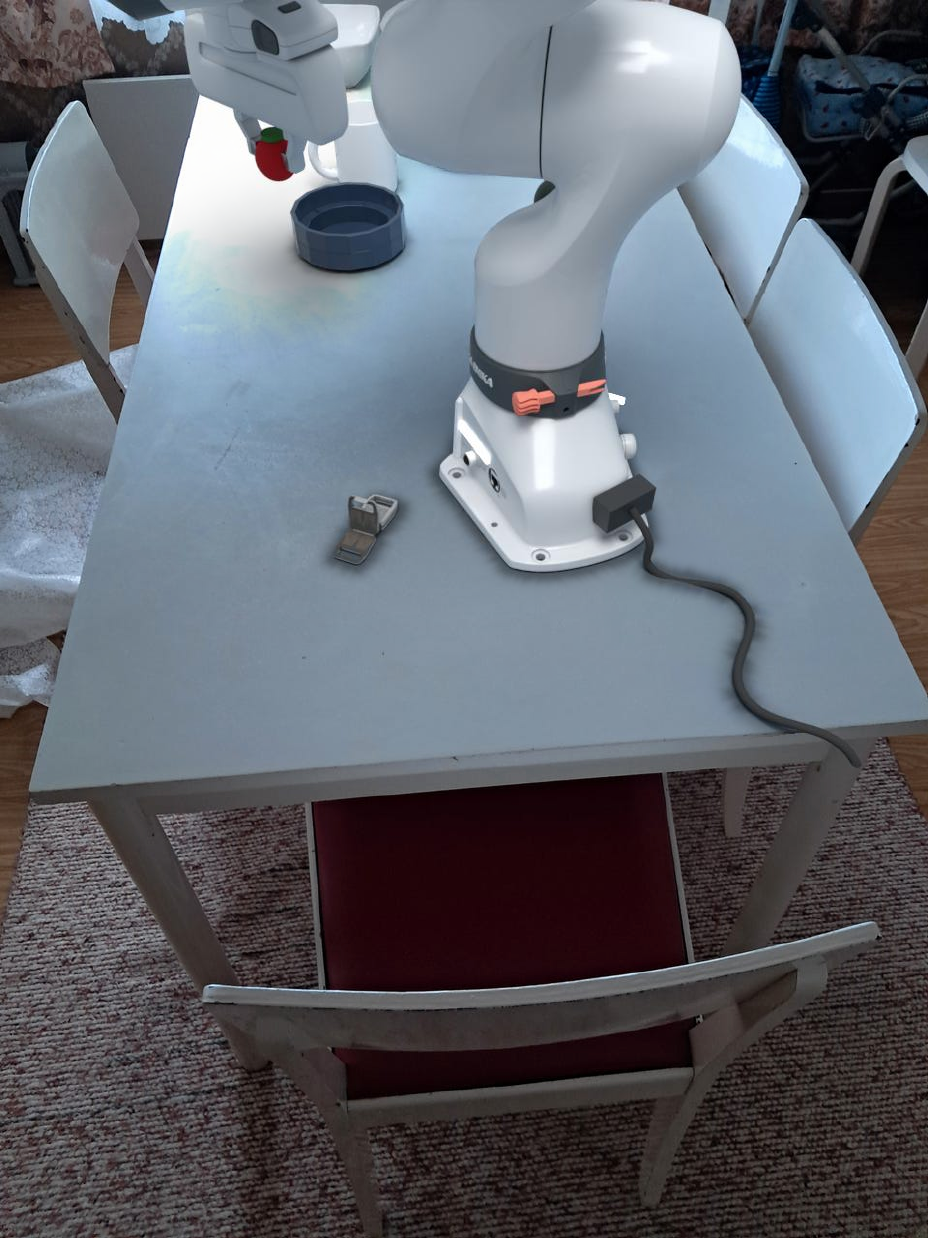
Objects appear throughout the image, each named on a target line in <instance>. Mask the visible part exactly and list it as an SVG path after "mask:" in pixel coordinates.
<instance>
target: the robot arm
mask: <svg viewBox="0 0 928 1238" xmlns="http://www.w3.org/2000/svg"><path fill="white" fill-rule="evenodd" d="M106 1H107V2H109V3H110V4H111V5H112V6H113V7H115V8H117V9H118V10H120V11H121V12H123V13H124V14H126V15H127V16H129V17H130V18H133V19H134V20H136V21H138V22H142V21H145V20H149V19H154V18H158V17H162V16H167V15H171V14H174V13H175V12H178V11H183V12H184V15H185V18H184V21H183V39H184V47H185V52H186V58H187V64H188V69H189V74H190V79H191V82H192V84H193V86H194V88H195V90H196V91H197V93H198V94H199V96H201V97H203V98H206V99H208V100H211V101H213V102H215V103H218V104H220V105H222V106H225V107H227V108H230V109H232V113H233V117H234V120H235V122H236V123H237V125H238V127H239V129H240V131H241V132H242V134H243V136H244V138H245V139H246V145H247V148H248V153H249V154H250V155H251V156H254V157H255V150H256V147H257V144H258V143H259V141H260V140H261V135H260V132H261V130H263V128H262V127H261V124H260V122H262V123H265V124H267V125H269V126H271V127H276V128H279V129H281V130H283V136H284V139H285V140H288V146H287V151H285V152H283V153H281V157H282V161H283V167H284V169H286V170H288V171H290V172H292V173H294V174H295V175H297V174H299V173H301V172H304V170H305V169H306V160H305V154H304V152H305V150H306V147H307V143H309V142H312V143H314V144H316V145H318V147H321V146H322V147H323V146H325V145H328V144H331V143H332V142H334V140H336V139H338V138H340V137H342V136H343V135H344V133H345V131H346V129H347V127H348V122H349V121H348V105H347V102H348V96H347V90H346V89H347V88H345V81H344V75H343V69H342V65H341V61H340V58H339V56H338V54H337V52H336V50H335V49H334V48H333V47H332V46H331V45H330V43H332V42H334V41H336V40H337V39H338V25H337V20H336V18H335V16H334V15H333V14H332V13H331V12H330V11H329V10H328V9H327V8H325V7H324V6H323V5H322V4H323V3H321V2H320V1H318V0H106ZM370 96H371V100H372V102H373V106H374V110H375V114H376V117H377V120H378V123H379V125H380V127H381V129H382V131H383V133H384V135H385V137H386V139H387V140H388V142H389V143H390V145H391V146H392V147H393V149H394V150H395V151H396V154H397V155H399V156H400V157H402V158H406V159H409V160H413V161H414V162H418V163H421V164H423V165H424V164H425V165H428V166H432V167H435V168H439V169H442V170H445V171H449V172H453V173H456V174H465V175H480V176H495V177H508V178H509V177H510V178H522V179H533V180H534V179H538V180H543V181H545V180H546V181H550V182H552V183H553V184H554V185H555V187H556V188H555V189H554V190H553V191H552V192H551V193H550V194H548V195H547V196H546V197H544V198H543V199H541V200H539V201H538V202H536V203H534V202H533V203H531V204H529V205H527V206H524V207H521V208H518V209H517V210H515V211H513V212H511V213H509V214H508V215H506V216H504V217H503V218H502V219H500V220H499V221H498V222H496V223H495V225H493V226H492V227H490V229H489V230H488V231H487V232H486V233H485V234H484V236H483V238H482V240H481V241H480V243H479V245H478V248H477V250H476V253H475V257H474V263H473V264H474V266H473V267H474V274H473V275H474V324H473V325H472V327H471V330H470V335H469V343H468V360H469V373H470V377H469V379H468V381H467V382H466V384H465V386H464V387H463V389H462V391H461V393H460V394H459V395H458V397H457V399H456V400H455V402H454V403H455V404H454V421H453V422H454V423H453V425H454V426H453V427H454V428H453V445H452V452H451V453H450V454H449V455H448V456H447V457H445V459H444V460H442V462H441V463H440V465H439V470H438V471H439V472H438V476H439V478H440V480H441V481H442V483H443V484H444V485H445V487H447V489H448V491H449V492H450V493H451V495H453V497H454V498H455V499H456V500H457V502H458V503H459V505H460V506H461V507H462V508H463V510H464V511H465V513H466V514H467V515H468V516H469V518H470V519H471V520H472V522H473V523H474V524H475V525H476V527H477V528H478V529H479V530H480V532H481V533H482V534H483V536H484V537H485V538H486V540H487V541H488V542H489V543H490V545H491V546H492V548H494V550H495V552H497V554H498V555H499V556H500V558H501V559H502V560H503V561H504V563H505V564H506V565H507V566H508V567H510V568H512V569H515V570H520V571H525V572H526V571H527V572H535V573H543V572H544V573H546V572H549V573H550V572H559V571H560V572H561V571H566V570H573V569H577V568H583V567H588V566H590V565H595V564H598V563H601V562H602V563H603V562H605V561H609V560H611V559H614V558H616V557H619V556H621V555H623V554H626V553H628V552H629V551H631V550H633V549H634V548H635V547H637V546H638V545H640V544H641V543H642V542H644V543H645V548H644V552H643V554H642V564H643V566H644V568H645V569H646V570H647V571H648V572H649V573H650V574H651V575H652V576H654V577H656V578H659V579H664V580H670V581H676V582H681V583H685V584H688V585H691V586H695V587H699V588H703V589H705V590H710V591H713V592H717V593H721V594H724V595H726V596H728V597H730V598H731V599H733V600H734V601H735V602H737V603H738V605H739V606H740V608H741V609H742V611H743V613H744V616H745V630H744V634H743V638H742V640H741V642H740V645H739V648H738V650H737V653H736V656H735V660H734V662H733V669H732V681H733V686H734V689H735V691H736V694H737V695H738V697H739V698H740V700H741V702H742V703H743V704H744V705H745V706H746V707H747V708H748V709H749V710H750V711H751V712H753V713H754V714H755V715H757V716H758V717H760V718H762V719H764V720H765V721H768V722H770V723H772V724H775V725H777V726H781V727H784V728H787V729H791V730H794V731H797V732H801V733H805V734H808V735H811V736H813V737H815V738H816V737H817V738H819V739H822V740H824V741H826V742H828V743H830V744H832V745H833V746H834V747H836V748H837V749H838V750H840V752H841V753H842V754H843V755H844V756H845V758H846V759H847V760H848V762H849V763H850V765H851V767H854V768H855V769H860V768H861V767H862V761H861V760H860V757H859V756H858V754H857V753H856V751H855V750H854V749H853V748H852V747H851V746H850V745H849V743H848V742H846V741H845V740H844V739H842V738H841V737H839V735H836V734H834V733H832V732H831V731H829V730H826V729H824V728H821V727H818V726H815V725H812V724H809V723H807V722H806V723H805V722H802V721H799V720H795V719H792V718H788V717H785V716H783V715H780V714H777V713H774V712H771V711H769V710H767V709H766V708H764V707H762V706H761V705H759V704H758V703H757V702H756V701H755V700H754V699H753V698H752V697H751V696H750V694H749V692H748V690H747V689H746V687H745V683H744V681H743V668H744V663H745V660H746V656H747V653H748V652H749V648H750V646H751V643H752V640H753V637H754V633H755V627H756V617H755V613H754V611H753V608H752V606H751V604H750V603H749V602H748V600H747V599H746V597H744V596H743V595H742V594H741V593H740V592H739V591H737V589H734V588H732V587H730V586H727V585H725V584H722V583H718V582H714V581H707V580H701V579H700V580H698V579H692V578H691V579H690V578H683V577H678V576H674V575H671V574H669V573H666V572H664V571H663V570H660V569H659V568H658V567H657V566H656V564H654V563H653V562H652V556H653V553H654V547H655V543H654V539H653V536H652V533H651V531H650V529H649V522H648V519H647V515H646V513H648V512H650V511H652V509H653V505H654V501H655V497H656V491H657V486H656V485H654V484H653V483H652V482H651V481H649V480H648V479H647V478H646V477H644V476H643V475H642V474H640V473H638V474H636V475H634V476H633V473H632V470H631V468H630V465H629V461H628V460H631V459H634V458H636V455H637V439H636V437H635V434H633V433H631V432H630V433H620V432H619V428H618V423H617V420H616V419H617V418H616V416H615V415H618V414H619V413H620V405H622V406H623V405H624V404H625V403H626V402H625V401H626V397H624V396H620V395H618V394H614V393H610V392H609V388H608V384H607V371H606V369H607V367H606V365H607V361H608V360H607V351H606V350H607V349H606V344H605V333H604V330H603V328H602V327H603V320H604V314H605V309H606V308H605V307H606V303H607V296H608V292H609V286H610V283H611V278H612V274H613V269H614V266H615V262H616V260H617V258H618V256H619V252H620V250H621V248H622V246H623V244H624V243H625V241H626V239H627V238H628V236H629V234H630V233H631V231H632V230H633V229H634V227H635V226H636V224H638V223H639V221H640V220H641V219H642V218H643V216H644V215H645V214H646V213H647V212H648V211H649V210H651V208H653V206H655V204H657V203H658V202H659V201H660V200H661V199H663V198H664V197H665V196H667V195H668V194H669V193H671V192H672V191H673V190H675V189H676V188H678V187H680V186H681V185H683V184H686V183H687V182H688V181H690V180H692V179H694V178H695V177H697V176H698V175H699V174H701V173H702V172H703V171H704V170H705V169H706V168H708V167H709V165H710V164H711V163H712V162H713V160H715V158H716V157H717V156H718V155H719V153H720V152H721V150H722V149H723V147H724V146H725V144H726V142H727V140H728V139H729V137H730V134H731V132H732V130H733V127H734V126H735V123H736V119H737V116H738V113H739V110H740V109H739V108H740V103H741V99H742V98H741V97H742V70H741V63H740V57H739V54H738V51H737V47H736V45H735V43H734V40H733V38H732V35H731V34H730V32H729V30H728V29H727V27H726V25H725V24H724V23H723V21H721V20H720V19H718V18H714V17H711V16H707V15H705V14H702V13H699V12H696V11H692V10H689V9H686V8H682V7H678V6H675V5H671V4H668V3H664V2H660V1H655V0H654V1H652V0H651V1H650V0H408V1H406V2H405V3H403V4H402V5H400V6H399V7H398V8H397V9H396V10H395V12H394V13H393V14H392V15H391V17H390V18H389V20H388V21H387V23H386V24H385V26H384V28H383V30H382V31H381V32H380V33H379V39H378V41H377V44H376V47H375V51H374V55H373V59H372V63H371V66H370ZM259 121H260V122H259ZM294 174H293V175H294Z"/></svg>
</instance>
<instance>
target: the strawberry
mask: <svg viewBox="0 0 928 1238" xmlns="http://www.w3.org/2000/svg"><path fill="white" fill-rule="evenodd" d="M260 135H261V140H260V141H259V143H258V144H257V147H256V150H255V156H254V161H255V164H256V167H257V169H258V170H259V172H260V173H261V174H262V176H264V177H265V178H266V179H268V180H270V181H272V182H285V181H287V180H289V179H291V177H293V176H294V173H292V172H290V171H288V170H286V169H284V167H283V161H282V157H281V153H283V152H285V151H287V146H288V140H285V139H284V136H283V130H281V129H279V128H276V127H274V126H268V127H265V128H262V130H261V132H260Z"/></svg>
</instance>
